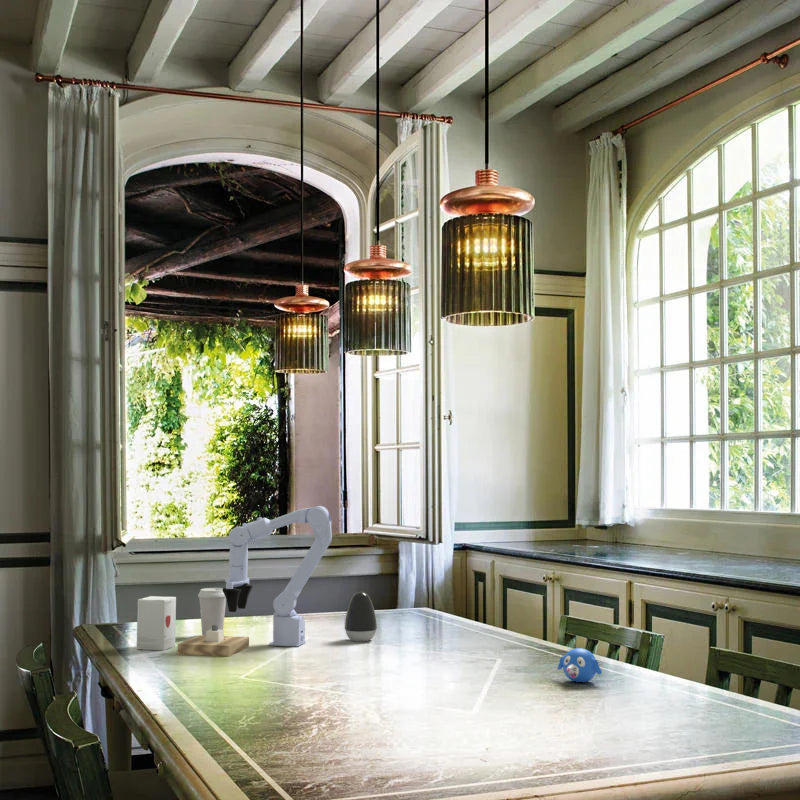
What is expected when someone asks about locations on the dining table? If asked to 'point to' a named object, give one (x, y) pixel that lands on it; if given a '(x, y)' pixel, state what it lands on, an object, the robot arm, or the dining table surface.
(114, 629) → the dining table surface
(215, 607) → the coffee cup
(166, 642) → the supplement box
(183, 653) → the socket plate
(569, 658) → the blue mole toy
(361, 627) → the two-tone egg ornament
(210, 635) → the plug
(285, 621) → the robot arm
